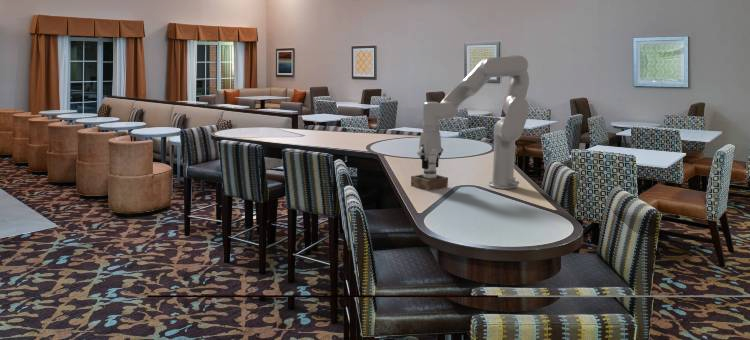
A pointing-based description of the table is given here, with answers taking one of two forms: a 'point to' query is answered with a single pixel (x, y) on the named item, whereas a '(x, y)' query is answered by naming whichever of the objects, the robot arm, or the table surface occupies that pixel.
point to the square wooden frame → (429, 182)
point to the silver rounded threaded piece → (431, 165)
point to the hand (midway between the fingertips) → (430, 167)
